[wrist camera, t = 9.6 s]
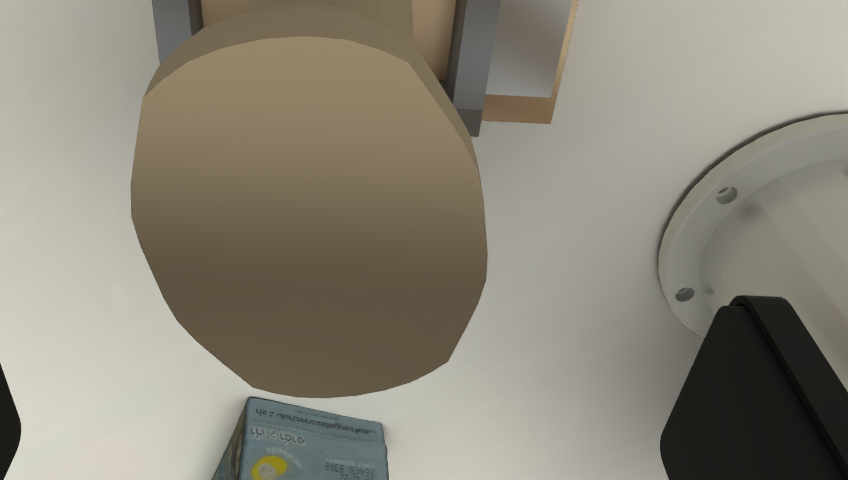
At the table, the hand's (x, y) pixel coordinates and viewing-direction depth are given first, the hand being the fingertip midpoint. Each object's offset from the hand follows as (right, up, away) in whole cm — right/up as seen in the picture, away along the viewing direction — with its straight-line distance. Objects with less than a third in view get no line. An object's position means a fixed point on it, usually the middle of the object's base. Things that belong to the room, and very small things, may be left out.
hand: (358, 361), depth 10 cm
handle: (-2, +11, +13) cm, 17 cm away
